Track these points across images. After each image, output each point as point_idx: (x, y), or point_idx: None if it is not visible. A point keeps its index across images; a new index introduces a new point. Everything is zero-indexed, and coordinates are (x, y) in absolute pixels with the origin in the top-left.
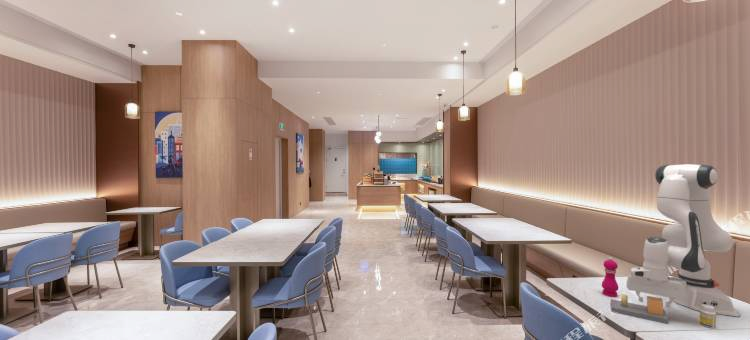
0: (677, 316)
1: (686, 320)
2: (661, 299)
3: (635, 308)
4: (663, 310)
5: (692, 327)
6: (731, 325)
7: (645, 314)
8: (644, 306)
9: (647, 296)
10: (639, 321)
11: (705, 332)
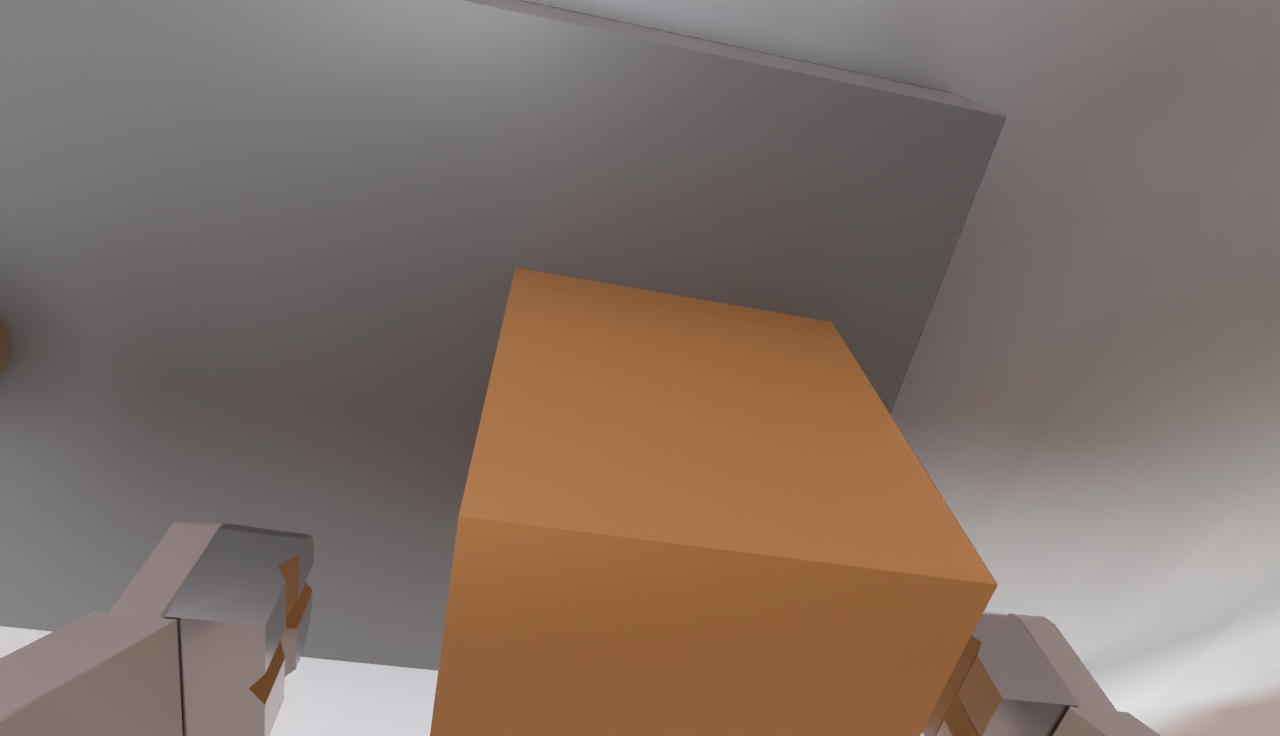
0: (1214, 127)
1: (1253, 307)
2: (920, 709)
3: (215, 403)
4: (943, 212)
5: (1111, 599)
6: None
7: (391, 661)
8: (494, 98)
9: (452, 603)
10: (291, 726)
11: (1187, 694)
